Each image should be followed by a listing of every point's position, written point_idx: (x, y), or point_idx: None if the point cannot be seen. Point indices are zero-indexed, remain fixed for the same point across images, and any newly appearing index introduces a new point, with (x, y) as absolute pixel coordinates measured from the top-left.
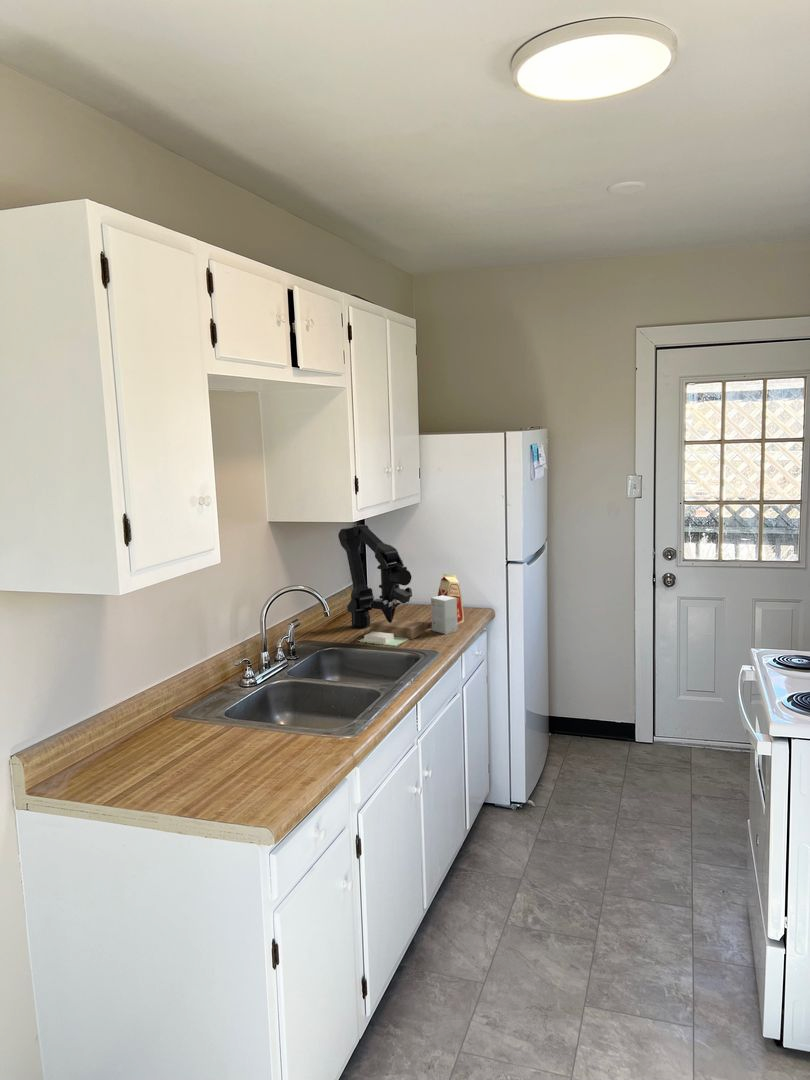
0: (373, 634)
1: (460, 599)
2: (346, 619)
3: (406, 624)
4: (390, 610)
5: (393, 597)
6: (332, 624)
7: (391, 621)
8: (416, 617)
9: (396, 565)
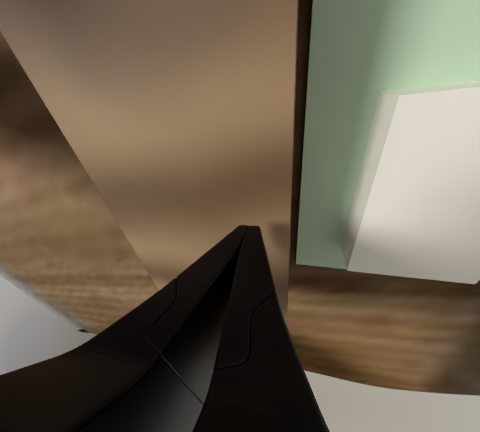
0: (442, 244)
1: None
2: None
3: (155, 93)
4: (322, 420)
5: None
6: None
7: (248, 229)
8: (21, 216)
9: None
